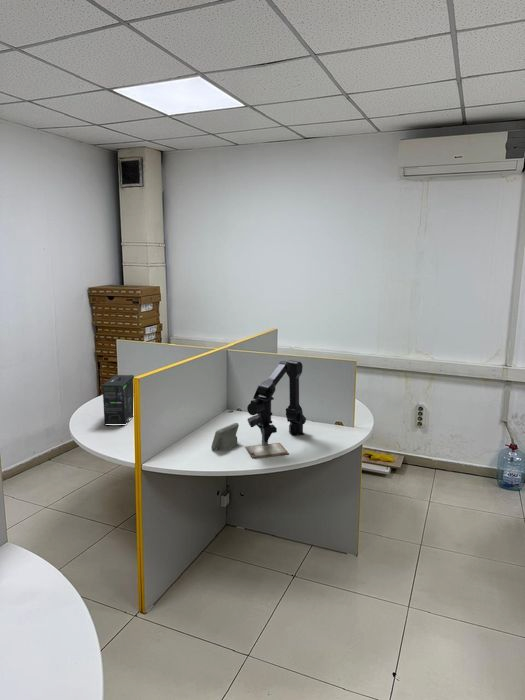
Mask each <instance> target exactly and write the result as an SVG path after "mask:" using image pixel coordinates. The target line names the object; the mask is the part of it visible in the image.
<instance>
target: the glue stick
mask: <svg viewBox="0 0 525 700" xmlns="http://www.w3.org/2000/svg"><path fill="white" fill-rule="evenodd" d="M268 444H269V440H268V441H267V442H265V440H264V434H263V432H262V434H261V445H262V446H268Z"/></svg>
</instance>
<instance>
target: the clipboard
mask: <svg viewBox="0 0 525 700" xmlns="http://www.w3.org/2000/svg"><path fill="white" fill-rule="evenodd" d="M244 448H245V450H246V451H247V453H248V454H249V456H250V458H252V459H261V458H269V457H278V456H287V455H288V456H289V455H290V453H289V452H288V450H286V448H285V447H284V445H283V444H282V443H281V442H276V443H275V442H274V443H273V442H272V443H268V446H262V444H254V445H246V446H244Z"/></svg>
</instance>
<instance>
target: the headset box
mask: <svg viewBox="0 0 525 700" xmlns="http://www.w3.org/2000/svg"><path fill="white" fill-rule="evenodd" d="M133 378H134V379H135V376H134V374H114V375H113V376H112V377H110V378H109V379H108V380H107V381H105V382H104V383H103V384H102V385H101V387H102V402H103V416H104V425H105V424H126V423H127V422H128V421H129V419H130V418H131V417H133V418H134V416H133ZM129 422H130V421H129Z"/></svg>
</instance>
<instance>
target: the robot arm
mask: <svg viewBox="0 0 525 700" xmlns="http://www.w3.org/2000/svg"><path fill="white" fill-rule="evenodd" d="M285 374H286V375H287V377H288V378H289V379H288V380H289V384H288V385H289V389H288V390H289V405H288V406H287V407H286V408H285V417H286V420H287V422H288V423H289V425H288V433H289V434H290V435H291V436H293V437H294V436H302V435H303V436H304V435H305V433H304V425H305V423H306V422H307V417H305V415H304V413H303V409H302V406H301V405H300V376H301V375H302V374H303V363H302V362H301V361H299V360H298V361H297V360H291V359H290V360H288V361H286V360H285V361H284V360H282V361H281V360H280V361H279V363H278V365H277V366H276V368H275V369H274V371H273V372H272V373H271V375H270V376H269V377H268V378H267V379H266V380H264V381H262V382H260V383H259V384H258V386H257V388H256V391H255V393H254V395H253V398H252V399H251V400H250V403H248V405H247V407H246V409H247V412H248V414H249V415H250V417H248V418H247V419H246V420H247V422H248V425H249V426H250V428H254V427H257V428H258V429H260V433H261V435H262V432H263V434H264V440H265V442H267V441H268V442H269V439H270V438H271V436H272V434H275V433H277V429H278V428H277V427H276V426H275V425H274V424H273V420H272V416H273V412H272V401H273V400H274V399H275V398H274V397H273V396H274V394H275V392H276V387H277V385H278V384H279V382H280V380H281V379H282V378H283V377H284V375H285Z"/></svg>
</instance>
